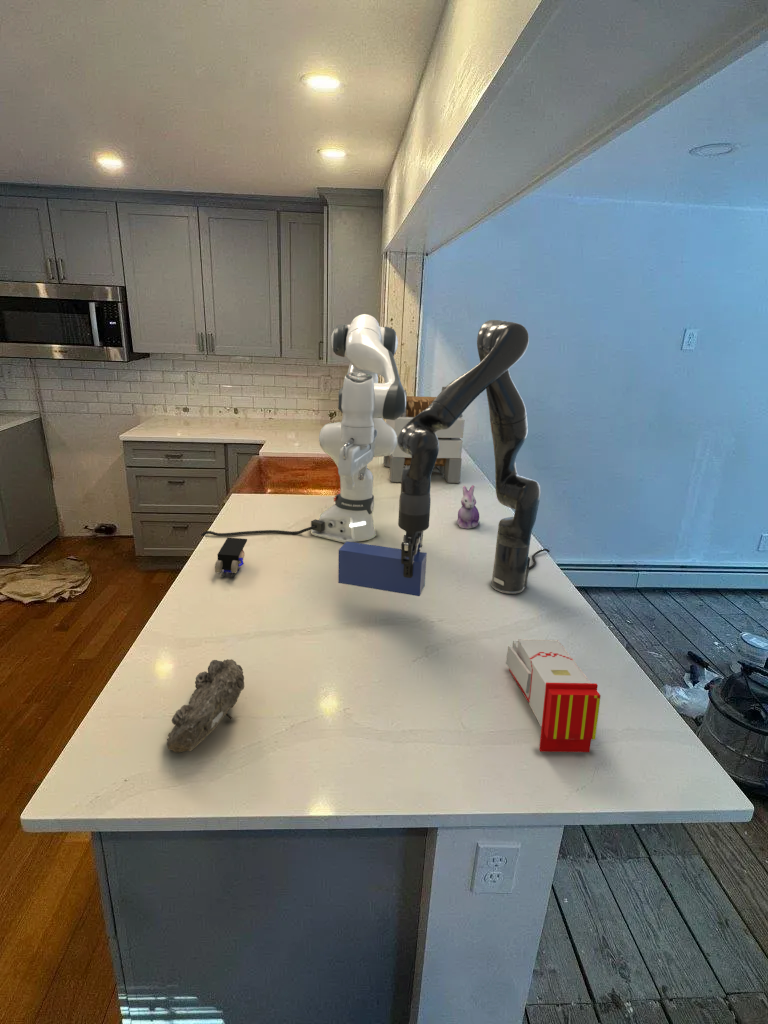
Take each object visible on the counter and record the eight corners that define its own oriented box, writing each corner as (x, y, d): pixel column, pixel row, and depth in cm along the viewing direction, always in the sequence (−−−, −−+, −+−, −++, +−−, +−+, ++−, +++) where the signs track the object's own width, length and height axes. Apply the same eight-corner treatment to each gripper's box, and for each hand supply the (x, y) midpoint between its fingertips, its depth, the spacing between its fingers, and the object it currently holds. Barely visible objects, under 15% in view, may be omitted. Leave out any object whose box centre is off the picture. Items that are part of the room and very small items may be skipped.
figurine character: (238, 584, 162) (249, 557, 175) (236, 562, 158) (247, 536, 172) (215, 584, 161) (227, 556, 175) (212, 561, 158) (225, 535, 171)
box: (338, 583, 146) (338, 549, 143) (346, 573, 152) (346, 541, 148) (419, 596, 141) (421, 562, 138) (424, 585, 146) (426, 552, 143)
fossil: (192, 660, 117) (244, 628, 112) (224, 691, 120) (276, 661, 115) (142, 746, 98) (202, 712, 93) (182, 779, 101) (242, 748, 96)
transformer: (382, 463, 289) (386, 382, 275) (445, 464, 293) (451, 384, 279) (390, 482, 257) (394, 392, 243) (460, 483, 261) (468, 394, 247)
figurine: (465, 531, 205) (469, 491, 200) (449, 521, 213) (452, 483, 208) (486, 527, 209) (490, 488, 204) (470, 518, 217) (473, 481, 212)
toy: (554, 622, 128) (610, 691, 98) (548, 677, 130) (601, 759, 101) (501, 621, 127) (541, 690, 98) (496, 676, 130) (534, 758, 101)
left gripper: (356, 444, 142) (354, 496, 147) (379, 429, 161) (377, 476, 165) (332, 441, 144) (331, 493, 148) (358, 427, 162) (356, 473, 167)
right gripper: (423, 520, 129) (419, 586, 135) (435, 501, 142) (431, 562, 148) (391, 516, 131) (389, 581, 137) (406, 497, 144) (403, 557, 150)
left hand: (356, 484), depth 157 cm, fingers open, 8 cm apart
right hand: (411, 571), depth 143 cm, fingers closed on box, 6 cm apart
